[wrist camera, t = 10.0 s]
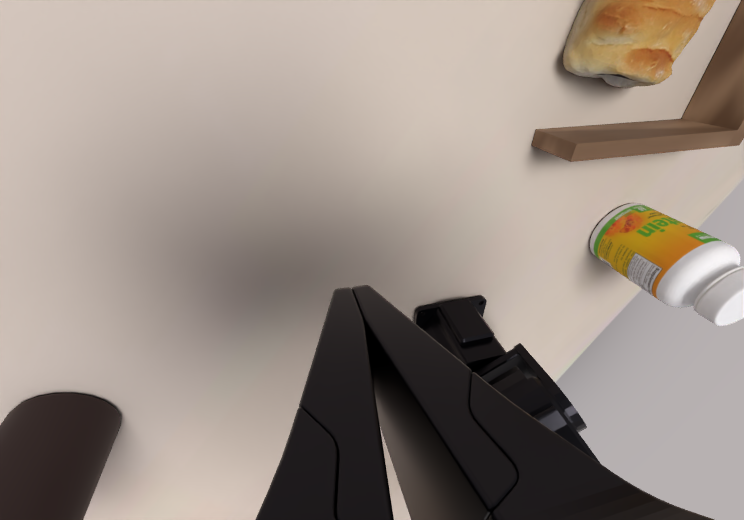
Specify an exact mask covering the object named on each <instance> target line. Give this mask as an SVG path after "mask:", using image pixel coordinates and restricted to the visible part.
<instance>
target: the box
mask: <svg viewBox="0 0 744 520" xmlns="http://www.w3.org/2000/svg"><path fill="white" fill-rule="evenodd" d="M743 138H744V0H742V1H741V3H740V5H739V7H738V9H737V11H736V13H735V15H734V17H733V19H732V21H731V23H730V25H729V27H728V29H727V31H726V33H725V35H724V37H723V38H722V40H721V42H720V44H719V46H718V48H717V50H716V52H715V54H714V56H713V58H712V60H711V62H710V64H709V66H708V68H707V70H706V72H705V74H704V76H703V78H702V80H701V82H700V84H699V86H698V87H697V89H696V91H695V93H694V95H693V97H692V99H691V101H690V103H689V105H688V107H687V109H686V111H685V113H684V115H683V117H682V119H674V120H660V121H646V122H632V123H619V124H605V125H591V126H577V127H563V128H550V129H536V131H535V135H534V139H533V142H532V146H534V147H537V148H539V149H541V150H544V151H546V152H549V153H551V154H553V155H556V156H558V157H560V158H563V159H565V160H568V161H570V162H573V161H583V160H593V159H604V158H614V157H624V156H634V155H645V154H655V153H665V152H675V151H686V150H696V149H706V148H716V147H727V146H737V145H740V143H741V142H742V140H743Z"/></svg>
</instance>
